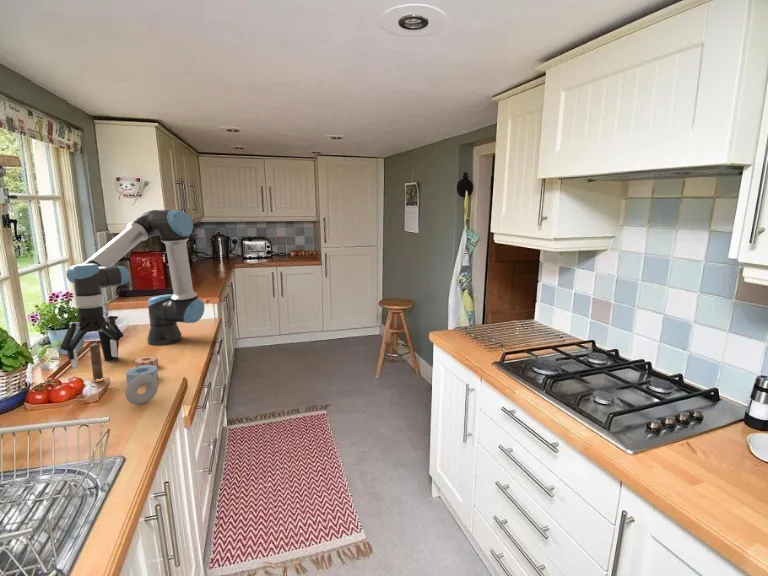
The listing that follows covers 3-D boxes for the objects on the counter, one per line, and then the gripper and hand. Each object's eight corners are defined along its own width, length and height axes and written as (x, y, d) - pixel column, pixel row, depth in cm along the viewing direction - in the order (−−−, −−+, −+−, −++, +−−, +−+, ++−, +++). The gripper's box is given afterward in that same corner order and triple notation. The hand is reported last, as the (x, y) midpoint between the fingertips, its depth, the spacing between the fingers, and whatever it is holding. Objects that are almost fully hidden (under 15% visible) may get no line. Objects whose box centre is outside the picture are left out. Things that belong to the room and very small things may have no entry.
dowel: (100, 378, 152) (96, 343, 150) (105, 379, 151) (101, 344, 149) (91, 381, 150) (87, 345, 147) (96, 382, 148) (92, 346, 146)
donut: (130, 410, 127) (127, 381, 126) (124, 408, 129) (121, 378, 127) (161, 399, 136) (158, 371, 134) (155, 396, 137) (153, 369, 136)
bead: (146, 363, 169) (145, 355, 168) (162, 364, 167) (162, 356, 166) (131, 370, 161) (130, 361, 160) (148, 371, 159) (147, 363, 159)
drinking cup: (111, 362, 169) (106, 317, 165) (96, 361, 170) (90, 315, 167) (126, 356, 176) (121, 312, 173) (111, 355, 178) (106, 311, 174)
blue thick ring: (147, 373, 158) (146, 363, 157) (163, 377, 154) (162, 368, 153) (121, 382, 149) (120, 372, 148) (137, 387, 145) (136, 377, 144)
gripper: (118, 299, 158) (123, 350, 161) (43, 311, 136) (50, 370, 139) (130, 301, 155) (135, 353, 158) (55, 313, 133) (62, 374, 136)
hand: (95, 361), depth 149 cm, fingers open, 13 cm apart
